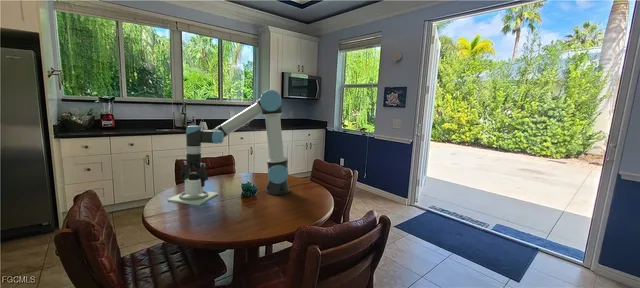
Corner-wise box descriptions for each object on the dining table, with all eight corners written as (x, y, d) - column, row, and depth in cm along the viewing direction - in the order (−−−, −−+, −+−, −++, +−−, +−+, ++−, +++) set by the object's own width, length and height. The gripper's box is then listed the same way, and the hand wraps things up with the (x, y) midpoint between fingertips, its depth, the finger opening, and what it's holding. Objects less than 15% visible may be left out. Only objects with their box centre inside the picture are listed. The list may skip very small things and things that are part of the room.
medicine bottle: (203, 193, 158) (203, 173, 156) (192, 196, 152) (192, 175, 150) (196, 190, 161) (195, 171, 160) (184, 193, 155) (184, 173, 154)
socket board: (218, 194, 164) (218, 190, 164) (198, 205, 146) (198, 201, 146) (190, 190, 168) (190, 187, 167) (167, 201, 149) (167, 197, 149)
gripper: (214, 153, 155) (214, 191, 158) (181, 150, 159) (182, 187, 162) (207, 155, 147) (207, 195, 151) (172, 152, 151) (173, 190, 154)
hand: (194, 191), depth 156 cm, fingers closed on medicine bottle, 9 cm apart
